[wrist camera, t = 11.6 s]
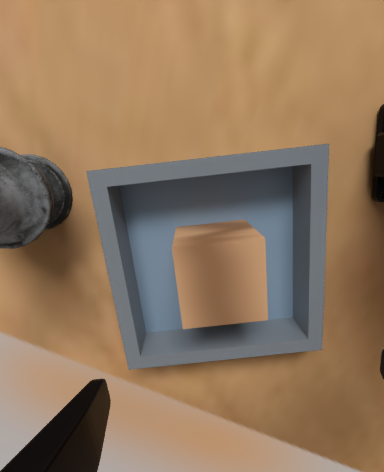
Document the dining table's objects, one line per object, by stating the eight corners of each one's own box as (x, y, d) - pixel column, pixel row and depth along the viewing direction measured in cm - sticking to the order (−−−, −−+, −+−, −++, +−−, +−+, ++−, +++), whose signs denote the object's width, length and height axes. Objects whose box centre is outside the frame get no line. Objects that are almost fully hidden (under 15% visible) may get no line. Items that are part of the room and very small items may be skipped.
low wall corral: (305, 147, 17) (329, 143, 14) (303, 324, 21) (322, 349, 18) (103, 170, 17) (86, 171, 14) (136, 341, 21) (128, 369, 18)
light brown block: (244, 219, 18) (265, 238, 13) (248, 282, 19) (268, 320, 15) (175, 227, 18) (171, 248, 13) (184, 289, 19) (182, 329, 15)
